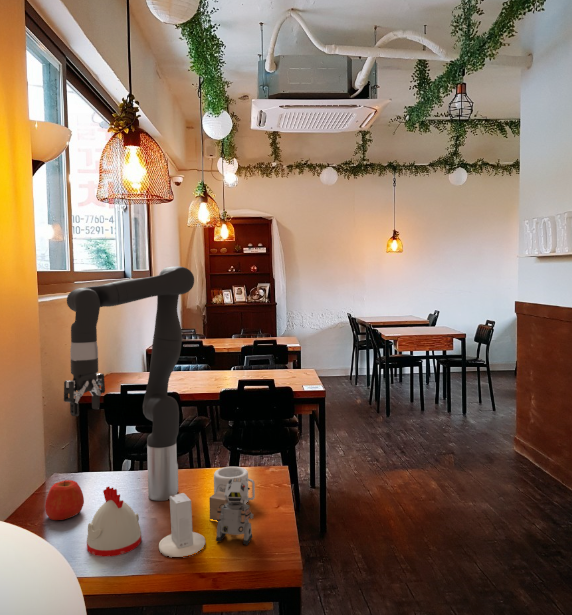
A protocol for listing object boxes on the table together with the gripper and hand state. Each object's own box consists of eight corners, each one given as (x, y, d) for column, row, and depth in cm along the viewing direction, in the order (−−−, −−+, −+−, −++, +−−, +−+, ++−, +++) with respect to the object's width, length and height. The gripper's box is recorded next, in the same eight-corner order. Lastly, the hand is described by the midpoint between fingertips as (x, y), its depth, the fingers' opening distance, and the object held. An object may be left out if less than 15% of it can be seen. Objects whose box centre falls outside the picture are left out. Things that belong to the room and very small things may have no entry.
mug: (207, 506, 164) (207, 475, 164) (224, 493, 174) (224, 464, 174) (247, 514, 159) (246, 481, 159) (262, 500, 169) (261, 469, 169)
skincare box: (193, 545, 138) (193, 500, 138) (177, 549, 136) (176, 503, 136) (186, 535, 144) (185, 491, 143) (169, 539, 142) (169, 495, 141)
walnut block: (218, 513, 159) (217, 491, 159) (232, 516, 158) (232, 493, 157) (209, 520, 155) (209, 497, 154) (225, 523, 153) (224, 500, 152)
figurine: (258, 529, 149) (258, 477, 148) (245, 549, 138) (245, 493, 137) (228, 525, 151) (227, 474, 151) (213, 545, 140) (212, 490, 140)
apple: (70, 525, 152) (69, 489, 152) (36, 522, 154) (35, 486, 154) (91, 509, 163) (90, 475, 162) (59, 506, 165) (58, 473, 164)
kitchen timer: (122, 526, 152) (121, 475, 151) (151, 541, 143) (150, 486, 142) (76, 545, 141) (75, 490, 140) (105, 562, 132) (104, 503, 131)
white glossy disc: (175, 532, 148) (175, 528, 148) (213, 539, 143) (213, 535, 143) (149, 552, 137) (149, 548, 137) (189, 561, 132) (189, 557, 132)
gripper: (91, 353, 162) (92, 405, 163) (55, 359, 148) (57, 417, 149) (111, 354, 159) (112, 407, 160) (76, 361, 146) (78, 419, 147)
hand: (85, 412), depth 155 cm, fingers open, 8 cm apart
